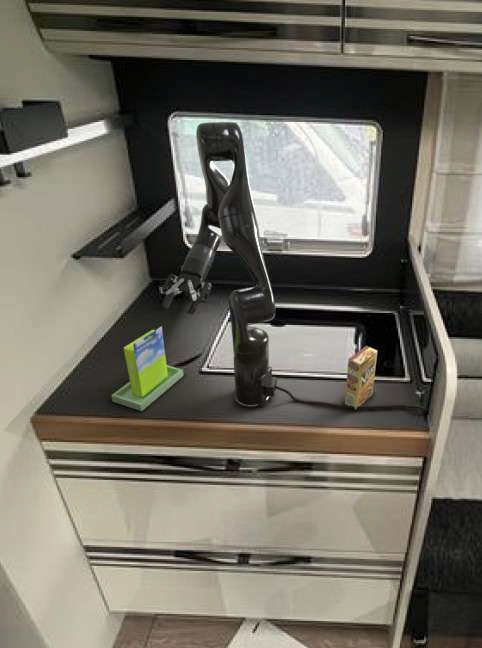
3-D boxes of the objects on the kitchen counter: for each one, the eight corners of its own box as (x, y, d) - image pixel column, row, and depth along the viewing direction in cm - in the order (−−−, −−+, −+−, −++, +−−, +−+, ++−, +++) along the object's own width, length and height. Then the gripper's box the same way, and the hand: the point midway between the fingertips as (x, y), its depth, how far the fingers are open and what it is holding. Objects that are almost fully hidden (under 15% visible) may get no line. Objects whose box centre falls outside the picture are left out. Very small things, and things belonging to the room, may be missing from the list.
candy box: (356, 410, 110) (361, 364, 103) (343, 404, 112) (347, 358, 105) (372, 394, 116) (378, 350, 110) (360, 388, 118) (365, 344, 112)
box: (158, 373, 117) (151, 322, 110) (170, 377, 116) (163, 325, 109) (130, 395, 108) (120, 340, 101) (142, 399, 107) (133, 344, 100)
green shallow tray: (183, 375, 118) (183, 369, 117) (141, 411, 104) (140, 405, 103) (157, 367, 121) (156, 361, 120) (112, 401, 106) (111, 395, 105)
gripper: (172, 252, 120) (149, 301, 115) (213, 260, 116) (191, 311, 111) (185, 263, 127) (164, 310, 122) (224, 271, 123) (204, 320, 118)
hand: (177, 311), depth 116 cm, fingers open, 8 cm apart
